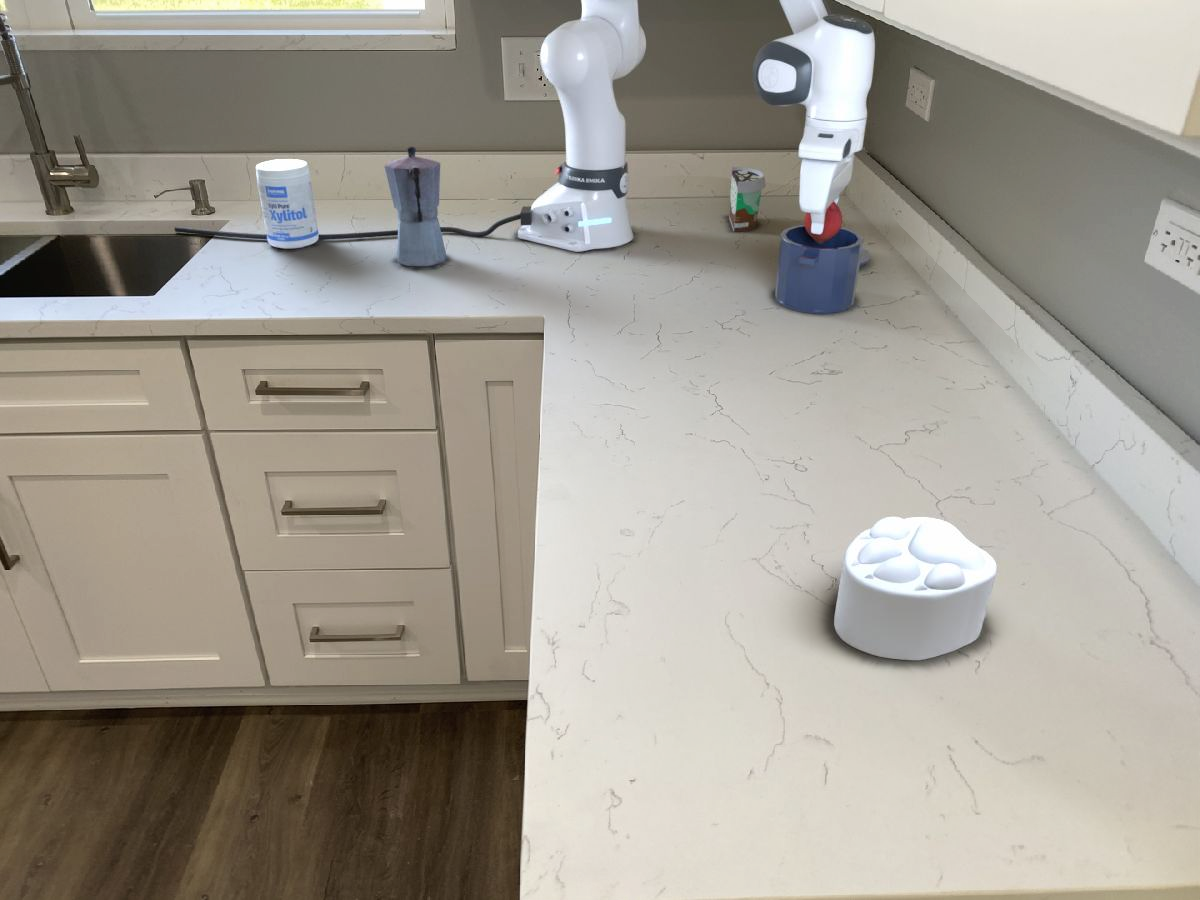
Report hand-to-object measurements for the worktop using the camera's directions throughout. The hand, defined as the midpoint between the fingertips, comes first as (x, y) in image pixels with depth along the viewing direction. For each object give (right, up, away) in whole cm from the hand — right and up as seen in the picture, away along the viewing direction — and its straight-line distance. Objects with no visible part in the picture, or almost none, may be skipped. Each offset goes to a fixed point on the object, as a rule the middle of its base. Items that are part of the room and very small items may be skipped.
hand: (822, 226), depth 145 cm
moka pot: (-67, -1, +23) cm, 71 cm away
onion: (0, -3, +2) cm, 3 cm away
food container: (-6, +10, +41) cm, 42 cm away
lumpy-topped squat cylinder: (-8, -51, -61) cm, 79 cm away
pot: (0, -10, +6) cm, 12 cm away
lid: (+7, 0, +22) cm, 23 cm away
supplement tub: (-94, +5, +33) cm, 100 cm away
